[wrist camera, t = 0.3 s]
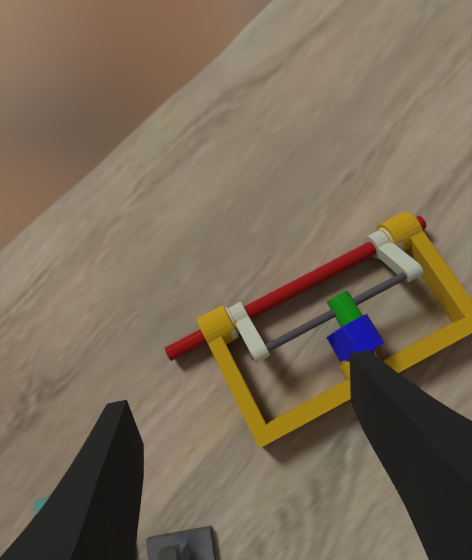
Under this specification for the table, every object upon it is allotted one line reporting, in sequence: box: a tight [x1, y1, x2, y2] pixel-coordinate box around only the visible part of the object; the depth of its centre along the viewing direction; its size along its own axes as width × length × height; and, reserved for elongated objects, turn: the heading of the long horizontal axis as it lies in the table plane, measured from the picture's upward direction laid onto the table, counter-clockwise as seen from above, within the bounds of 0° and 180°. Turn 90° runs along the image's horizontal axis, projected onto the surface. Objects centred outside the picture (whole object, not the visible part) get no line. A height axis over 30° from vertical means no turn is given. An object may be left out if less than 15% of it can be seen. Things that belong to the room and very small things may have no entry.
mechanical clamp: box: [165, 211, 472, 448], centre depth 40 cm, size 18×6×30 cm
